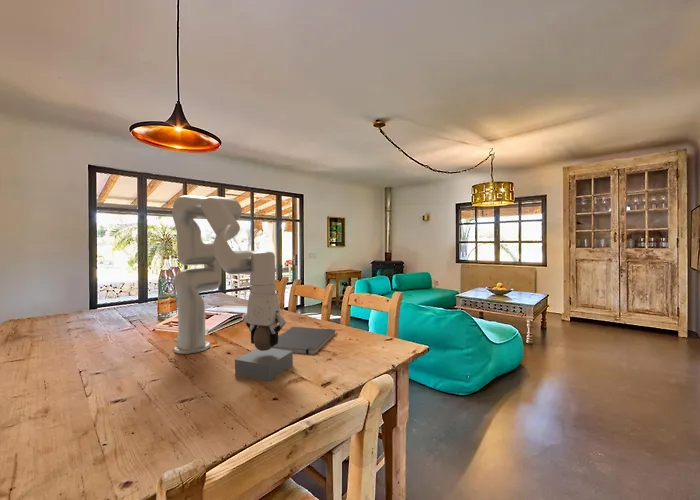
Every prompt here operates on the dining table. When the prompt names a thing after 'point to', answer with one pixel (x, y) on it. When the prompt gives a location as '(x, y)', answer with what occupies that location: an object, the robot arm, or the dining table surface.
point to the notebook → (304, 339)
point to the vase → (262, 338)
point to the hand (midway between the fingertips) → (264, 343)
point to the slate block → (264, 364)
